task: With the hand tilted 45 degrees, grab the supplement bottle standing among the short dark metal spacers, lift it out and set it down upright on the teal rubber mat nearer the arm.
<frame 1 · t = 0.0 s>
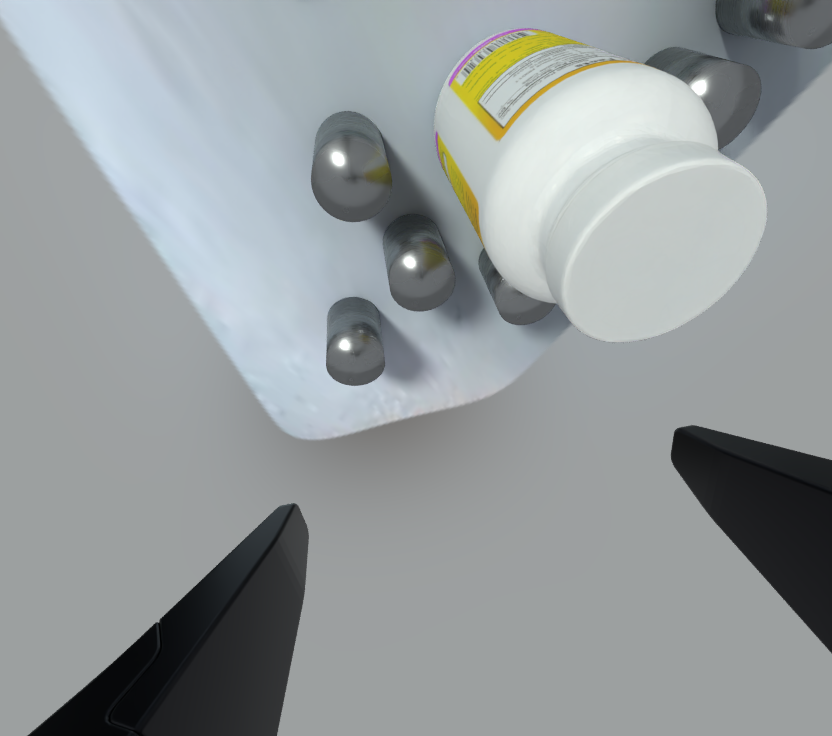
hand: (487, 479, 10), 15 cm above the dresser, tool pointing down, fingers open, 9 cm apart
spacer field: (505, 119, 19), on the dresser
supplement bottle: (504, 117, 20), on the dresser
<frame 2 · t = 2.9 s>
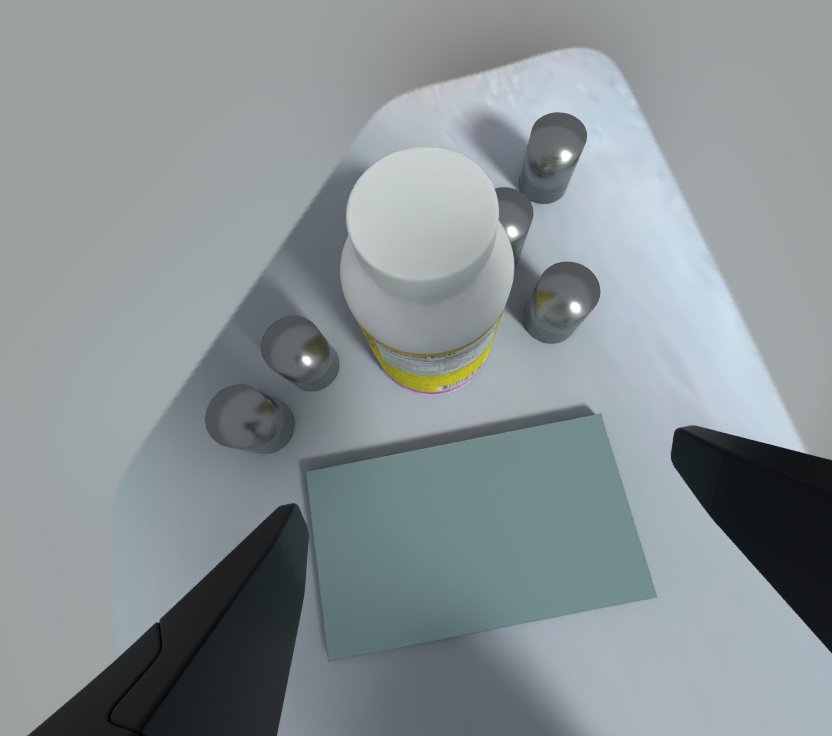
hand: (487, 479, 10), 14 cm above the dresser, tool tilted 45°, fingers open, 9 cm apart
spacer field: (431, 342, 26), on the dresser
rubber mat: (470, 529, 23), on the dresser
supplement bottle: (431, 343, 26), on the dresser
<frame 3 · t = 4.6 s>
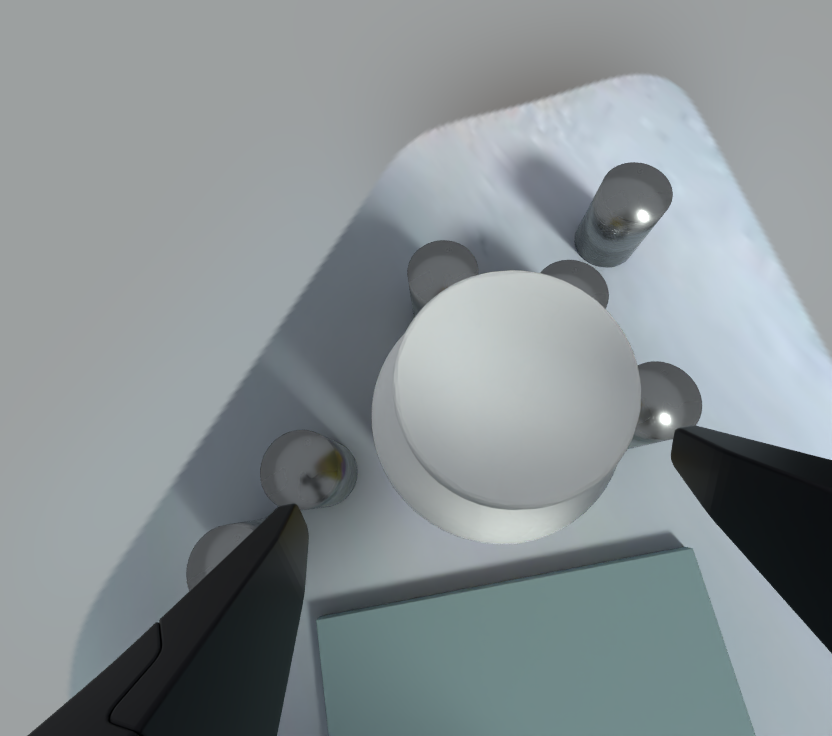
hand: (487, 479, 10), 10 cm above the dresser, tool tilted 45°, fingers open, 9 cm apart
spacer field: (472, 444, 21), on the dresser
rubber mat: (528, 702, 18), on the dresser
supplement bottle: (472, 445, 21), on the dresser
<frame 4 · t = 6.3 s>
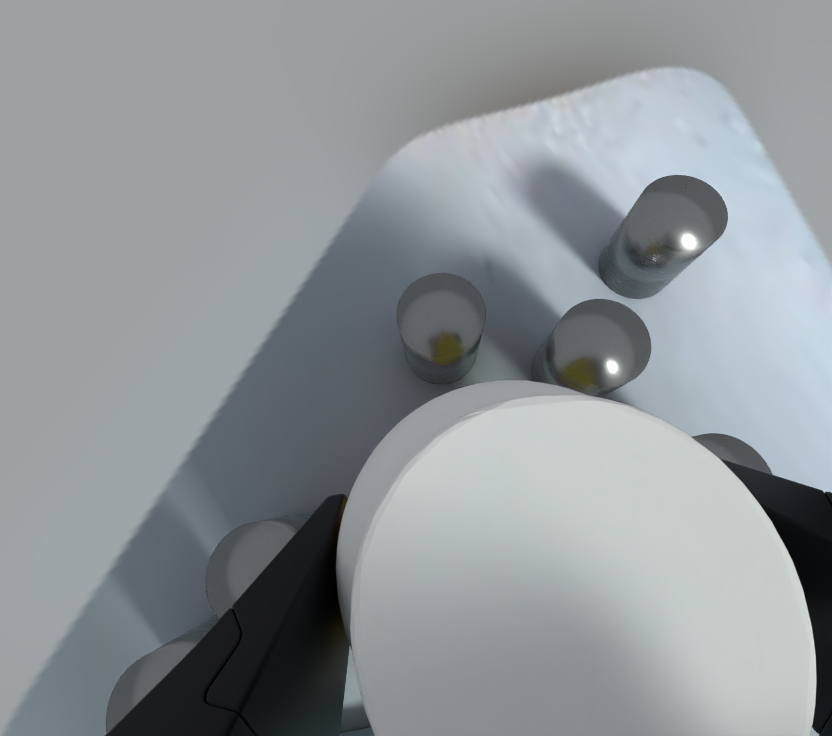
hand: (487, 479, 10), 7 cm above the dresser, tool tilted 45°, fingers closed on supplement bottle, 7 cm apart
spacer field: (477, 520, 17), on the dresser
supplement bottle: (477, 520, 17), on the dresser, touching gripper
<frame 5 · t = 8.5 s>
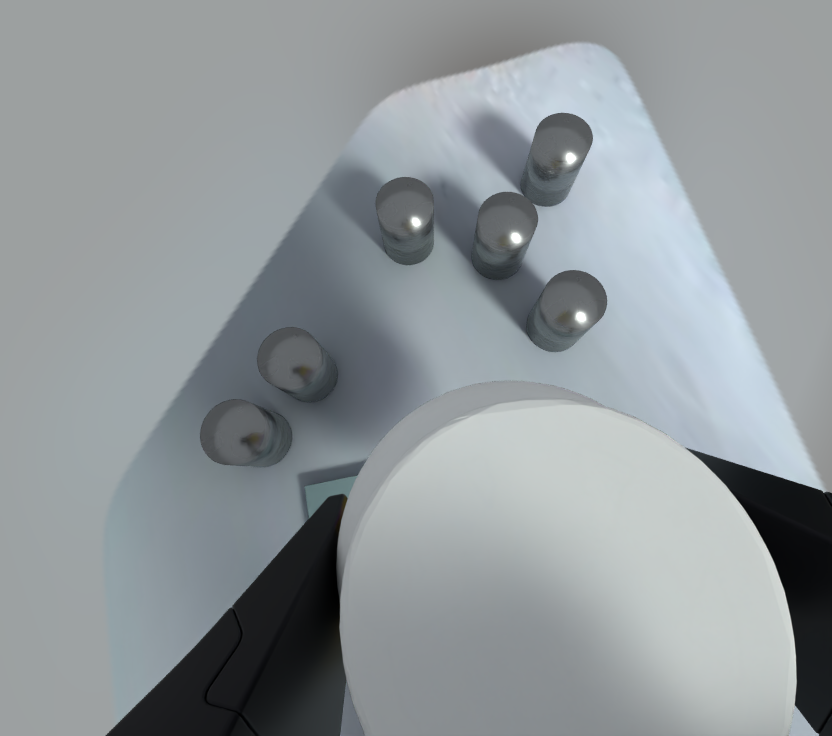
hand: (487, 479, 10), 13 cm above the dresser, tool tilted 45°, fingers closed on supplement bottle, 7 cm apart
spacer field: (432, 351, 25), on the dresser
rubber mat: (474, 544, 22), on the dresser
supplement bottle: (483, 516, 17), point 6 cm above the dresser, touching gripper
when the fingers open (9 cm above the dresser, at t = 10.7 s): supplement bottle drops 1 cm, resting on rubber mat.
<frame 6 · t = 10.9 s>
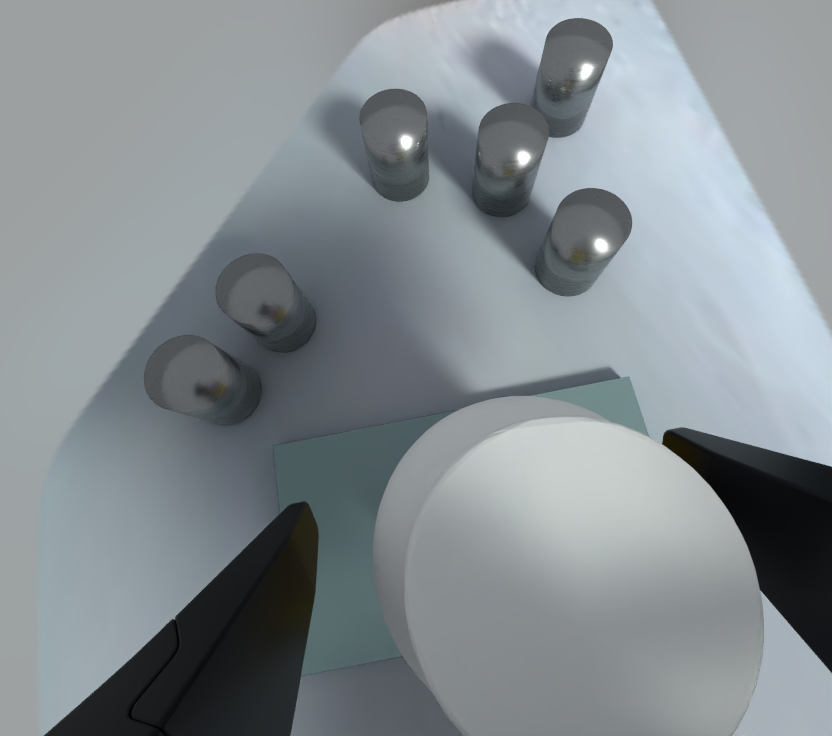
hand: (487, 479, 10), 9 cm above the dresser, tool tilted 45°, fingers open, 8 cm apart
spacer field: (425, 295, 22), on the dresser
rubber mat: (472, 516, 19), on the dresser
supplement bottle: (485, 518, 18), resting on rubber mat
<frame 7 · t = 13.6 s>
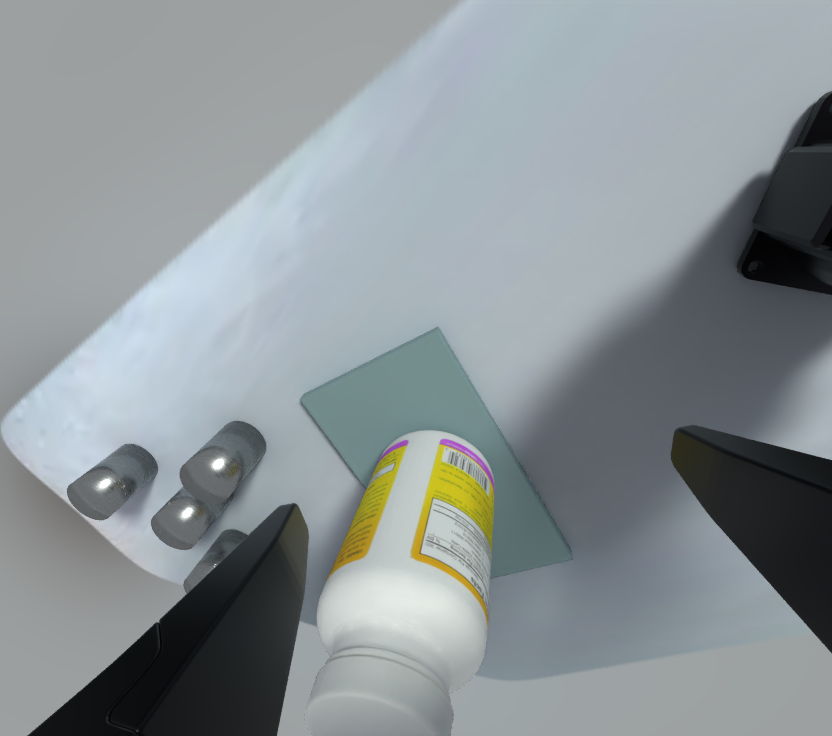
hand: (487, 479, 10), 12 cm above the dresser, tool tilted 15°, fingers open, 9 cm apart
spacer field: (308, 520, 30), on the dresser
rubber mat: (440, 474, 26), on the dresser
supplement bottle: (437, 471, 25), resting on rubber mat
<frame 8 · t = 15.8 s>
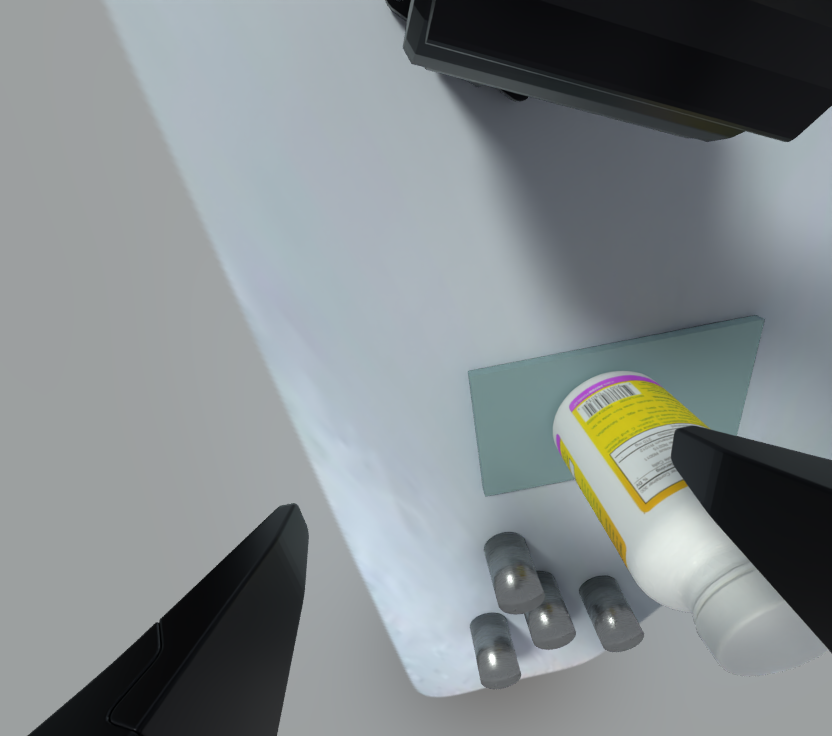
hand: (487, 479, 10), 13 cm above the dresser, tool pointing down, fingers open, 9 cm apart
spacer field: (601, 528, 31), on the dresser
rubber mat: (608, 409, 26), on the dresser
supplement bottle: (603, 413, 26), resting on rubber mat
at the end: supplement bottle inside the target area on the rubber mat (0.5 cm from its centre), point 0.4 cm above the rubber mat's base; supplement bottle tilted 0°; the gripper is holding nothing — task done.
